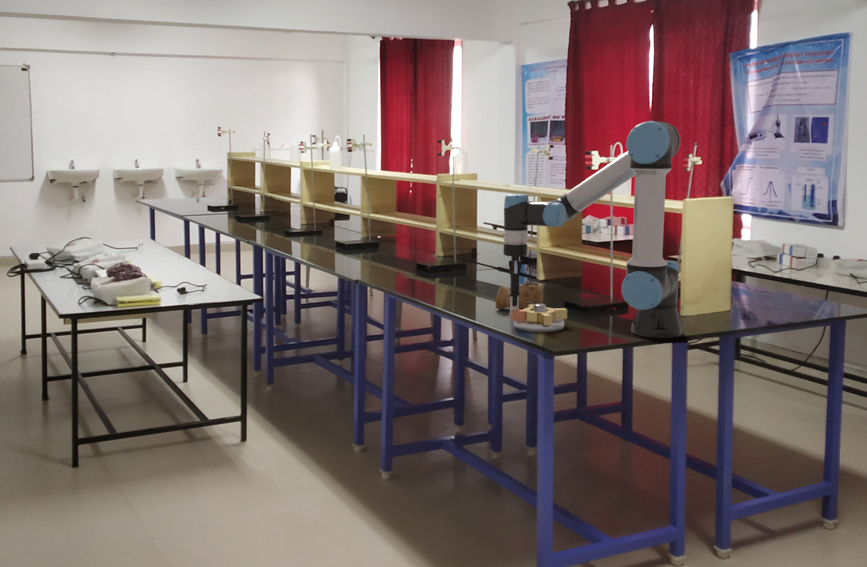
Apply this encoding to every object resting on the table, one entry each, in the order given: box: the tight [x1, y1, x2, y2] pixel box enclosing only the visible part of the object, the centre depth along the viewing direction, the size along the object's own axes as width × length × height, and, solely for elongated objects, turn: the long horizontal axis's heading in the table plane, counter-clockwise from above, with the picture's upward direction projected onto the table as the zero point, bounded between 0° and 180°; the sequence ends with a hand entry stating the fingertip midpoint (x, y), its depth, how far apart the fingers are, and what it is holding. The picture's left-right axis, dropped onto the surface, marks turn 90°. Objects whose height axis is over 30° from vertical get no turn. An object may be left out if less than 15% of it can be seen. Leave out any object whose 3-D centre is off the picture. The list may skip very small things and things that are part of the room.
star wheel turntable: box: [513, 303, 565, 333], centre depth 273 cm, size 16×16×7 cm
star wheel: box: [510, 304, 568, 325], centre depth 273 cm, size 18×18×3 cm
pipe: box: [495, 281, 544, 310], centre depth 296 cm, size 9×16×10 cm, turn 68°
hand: (514, 315), depth 274 cm, fingers closed
